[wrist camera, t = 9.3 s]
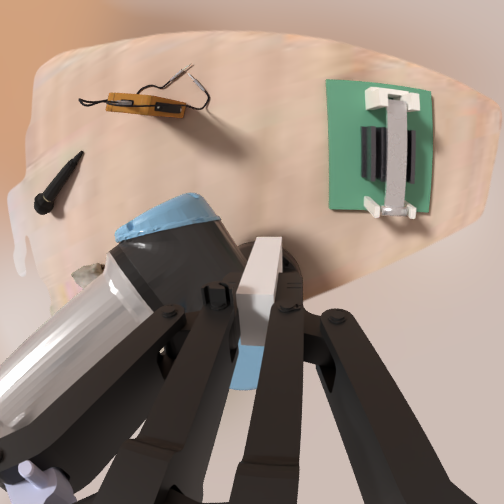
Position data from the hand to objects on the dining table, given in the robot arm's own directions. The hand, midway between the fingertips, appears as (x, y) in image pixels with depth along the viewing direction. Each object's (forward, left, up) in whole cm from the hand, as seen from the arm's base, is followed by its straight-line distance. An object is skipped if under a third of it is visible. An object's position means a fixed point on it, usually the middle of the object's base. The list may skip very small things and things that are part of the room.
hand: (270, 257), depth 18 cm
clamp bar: (+5, -16, -25) cm, 30 cm away
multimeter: (+17, +18, -31) cm, 40 cm away
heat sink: (+5, -16, -29) cm, 34 cm away
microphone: (+3, +47, -31) cm, 56 cm away
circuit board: (+6, -16, -30) cm, 35 cm away
